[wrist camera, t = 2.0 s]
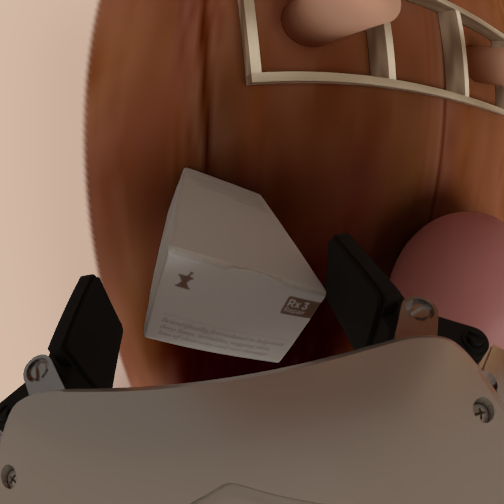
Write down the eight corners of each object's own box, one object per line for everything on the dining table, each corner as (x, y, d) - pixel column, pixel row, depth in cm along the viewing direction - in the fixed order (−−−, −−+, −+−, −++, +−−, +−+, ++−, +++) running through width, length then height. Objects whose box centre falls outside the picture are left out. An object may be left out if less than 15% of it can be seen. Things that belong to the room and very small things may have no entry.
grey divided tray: (498, 114, 19) (553, 132, 12) (246, 85, 16) (273, 72, 9) (493, 37, 14) (547, 42, 7) (234, -31, 11) (251, -90, 5)
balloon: (467, 288, 31) (532, 360, 18) (349, 327, 29) (411, 445, 16) (495, 183, 23) (590, 245, 10) (365, 190, 21) (511, 309, 8)
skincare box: (165, 218, 20) (133, 344, 10) (185, 161, 18) (158, 245, 8) (242, 243, 22) (276, 372, 12) (266, 191, 20) (332, 295, 10)
